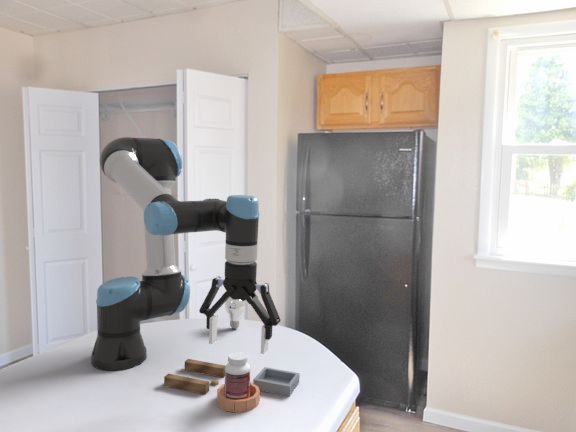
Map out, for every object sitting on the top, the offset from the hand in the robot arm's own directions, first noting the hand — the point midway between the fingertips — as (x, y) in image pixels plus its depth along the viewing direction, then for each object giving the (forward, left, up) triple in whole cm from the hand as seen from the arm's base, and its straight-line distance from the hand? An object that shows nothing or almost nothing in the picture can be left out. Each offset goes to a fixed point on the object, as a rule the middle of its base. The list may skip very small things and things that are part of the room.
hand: (238, 346), depth 114 cm
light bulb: (-22, +45, -14) cm, 52 cm away
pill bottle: (0, 0, -13) cm, 13 cm away
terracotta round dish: (0, 0, -14) cm, 14 cm away
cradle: (-15, +6, -14) cm, 21 cm away
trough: (+6, +11, -14) cm, 19 cm away
